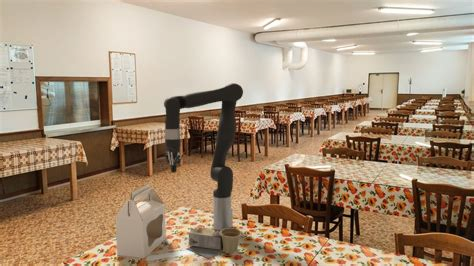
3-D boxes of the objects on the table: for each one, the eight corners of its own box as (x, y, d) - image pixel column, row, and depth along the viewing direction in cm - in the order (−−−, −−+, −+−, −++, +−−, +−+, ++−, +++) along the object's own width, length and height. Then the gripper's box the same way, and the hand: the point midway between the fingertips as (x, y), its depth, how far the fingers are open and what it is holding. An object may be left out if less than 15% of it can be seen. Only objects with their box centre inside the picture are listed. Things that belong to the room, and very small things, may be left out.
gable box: (144, 259, 158) (141, 195, 155) (116, 255, 161) (113, 193, 158) (166, 238, 179) (164, 182, 176) (141, 235, 183) (139, 180, 179)
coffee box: (195, 226, 177) (227, 230, 173) (195, 238, 178) (227, 243, 174) (188, 232, 168) (221, 237, 164) (188, 246, 169) (221, 250, 165)
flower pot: (225, 257, 159) (226, 238, 158) (216, 247, 167) (217, 229, 166) (244, 253, 163) (245, 234, 162) (234, 244, 172) (235, 226, 170)
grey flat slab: (201, 242, 174) (201, 242, 174) (223, 252, 164) (223, 251, 164) (186, 248, 168) (186, 248, 167) (208, 258, 158) (208, 258, 158)
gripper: (187, 138, 180) (188, 172, 182) (170, 135, 189) (171, 168, 191) (174, 139, 174) (175, 175, 177) (158, 137, 183) (159, 171, 185)
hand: (173, 172), depth 184 cm, fingers closed
